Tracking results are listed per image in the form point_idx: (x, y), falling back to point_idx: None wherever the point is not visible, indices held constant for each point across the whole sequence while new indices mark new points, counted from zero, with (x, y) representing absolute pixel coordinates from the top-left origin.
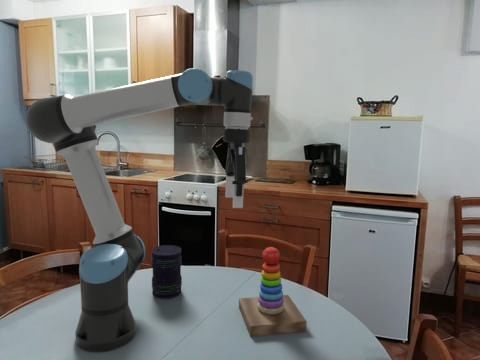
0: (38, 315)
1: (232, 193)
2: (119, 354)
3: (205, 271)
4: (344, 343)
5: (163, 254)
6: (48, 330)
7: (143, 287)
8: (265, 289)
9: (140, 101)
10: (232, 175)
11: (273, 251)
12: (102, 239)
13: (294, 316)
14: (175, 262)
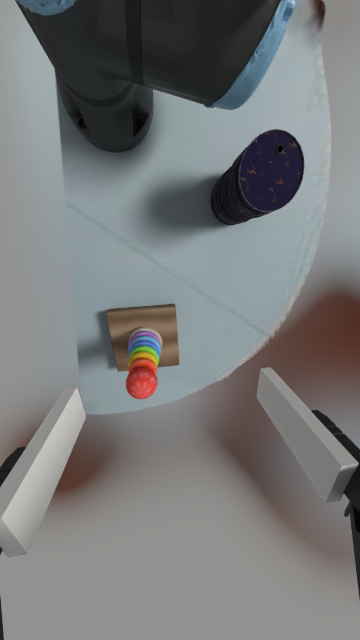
0: None
1: (266, 403)
2: (62, 131)
3: (290, 266)
4: (99, 391)
5: (246, 165)
6: None
7: None
8: (132, 346)
9: None
10: (349, 498)
11: (130, 392)
12: None
13: (127, 362)
14: (235, 202)
